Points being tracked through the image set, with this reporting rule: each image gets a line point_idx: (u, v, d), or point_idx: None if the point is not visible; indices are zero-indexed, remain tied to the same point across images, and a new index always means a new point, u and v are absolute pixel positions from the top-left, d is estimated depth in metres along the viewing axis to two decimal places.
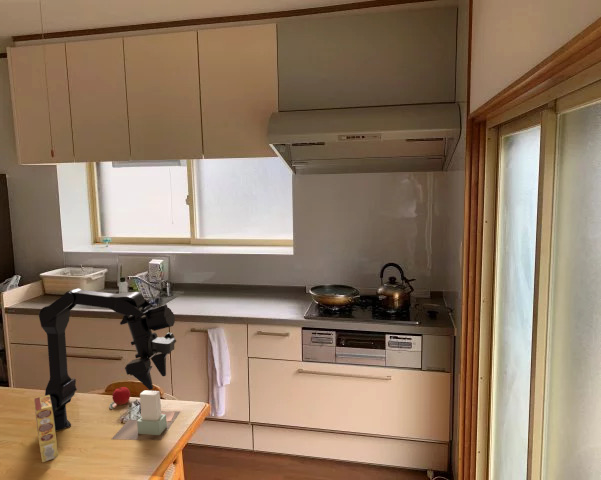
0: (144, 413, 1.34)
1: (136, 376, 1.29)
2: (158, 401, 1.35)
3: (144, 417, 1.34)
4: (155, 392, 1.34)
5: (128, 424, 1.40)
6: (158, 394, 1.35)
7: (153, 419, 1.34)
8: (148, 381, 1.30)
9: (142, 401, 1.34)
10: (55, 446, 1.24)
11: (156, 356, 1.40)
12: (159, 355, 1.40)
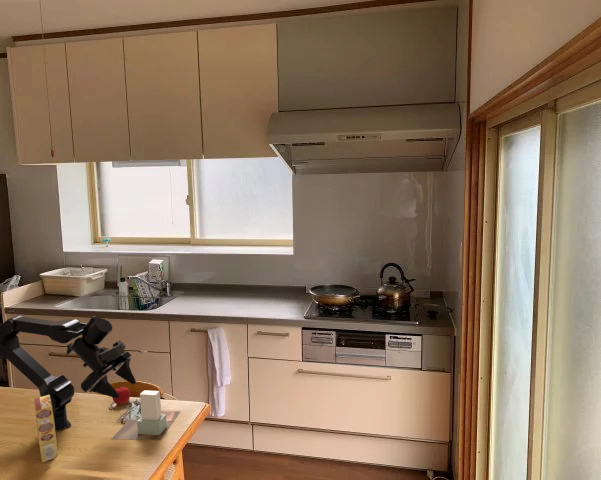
0: (144, 413, 1.34)
1: (97, 391, 1.30)
2: (158, 401, 1.35)
3: (144, 417, 1.34)
4: (155, 392, 1.34)
5: (128, 424, 1.40)
6: (158, 394, 1.35)
7: (153, 419, 1.34)
8: (110, 390, 1.30)
9: (142, 401, 1.34)
10: (55, 446, 1.24)
11: (119, 369, 1.41)
12: (121, 367, 1.41)
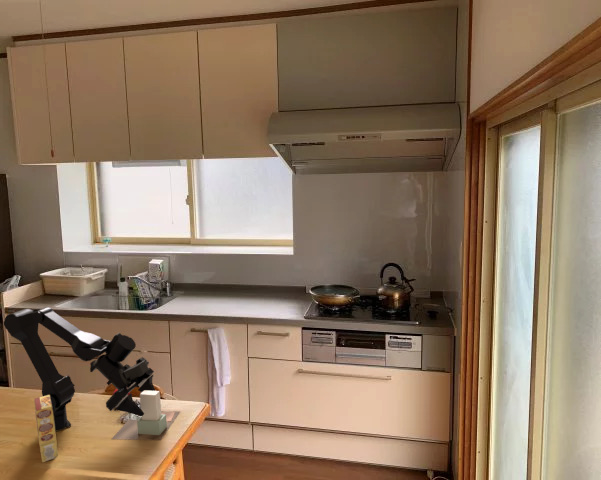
0: (144, 413, 1.34)
1: (122, 409, 1.29)
2: (158, 401, 1.35)
3: (144, 417, 1.34)
4: (155, 392, 1.34)
5: (128, 424, 1.40)
6: (158, 394, 1.35)
7: (153, 419, 1.34)
8: (135, 408, 1.30)
9: (142, 401, 1.34)
10: (55, 446, 1.24)
11: (142, 386, 1.40)
12: (144, 383, 1.40)
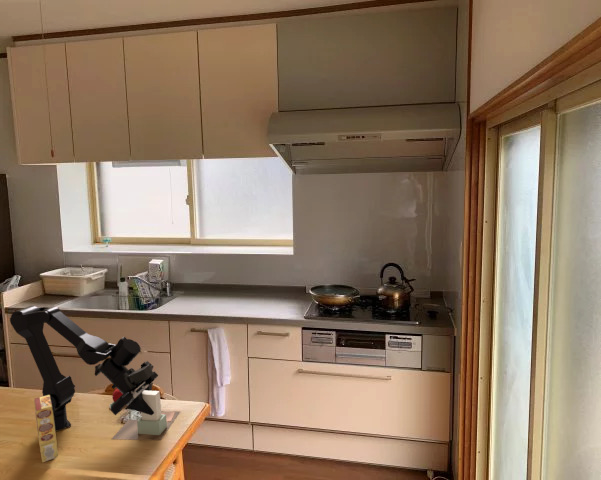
0: (144, 413, 1.34)
1: (133, 408, 1.32)
2: (158, 401, 1.35)
3: (144, 417, 1.34)
4: (155, 392, 1.34)
5: (128, 424, 1.40)
6: (158, 394, 1.35)
7: (153, 419, 1.34)
8: (145, 407, 1.33)
9: None
10: (55, 446, 1.24)
11: None
12: None
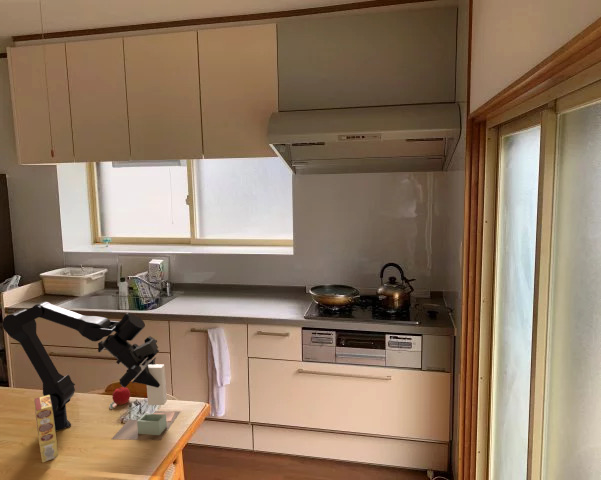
0: (150, 386, 1.38)
1: (139, 381, 1.36)
2: (163, 374, 1.39)
3: (150, 390, 1.38)
4: (160, 365, 1.38)
5: (128, 424, 1.40)
6: (163, 367, 1.39)
7: (159, 391, 1.38)
8: (152, 380, 1.36)
9: None
10: (55, 446, 1.24)
11: None
12: (147, 366, 1.40)
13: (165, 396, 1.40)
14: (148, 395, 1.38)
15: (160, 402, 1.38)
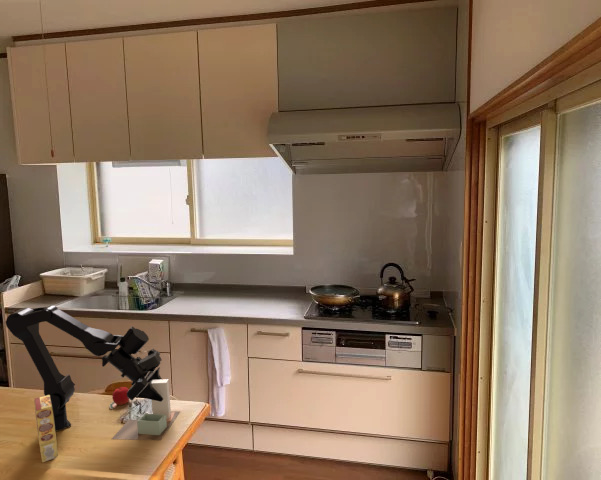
0: (155, 401, 1.41)
1: (143, 396, 1.37)
2: (168, 388, 1.43)
3: (155, 404, 1.41)
4: (165, 380, 1.42)
5: (128, 424, 1.40)
6: (168, 382, 1.43)
7: (164, 406, 1.42)
8: (155, 394, 1.38)
9: None
10: (55, 446, 1.24)
11: (150, 379, 1.45)
12: (152, 376, 1.45)
13: (169, 410, 1.44)
14: (153, 410, 1.42)
15: None
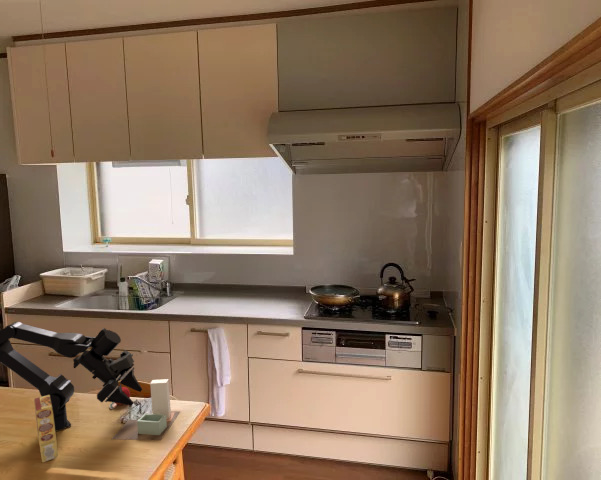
0: (155, 401, 1.41)
1: (112, 400, 1.35)
2: (168, 388, 1.43)
3: (155, 404, 1.41)
4: (165, 380, 1.42)
5: (128, 424, 1.40)
6: (168, 382, 1.43)
7: (164, 406, 1.42)
8: (125, 398, 1.36)
9: (153, 390, 1.41)
10: (55, 446, 1.24)
11: (124, 378, 1.46)
12: (126, 376, 1.46)
13: (169, 410, 1.44)
14: (153, 410, 1.42)
15: None
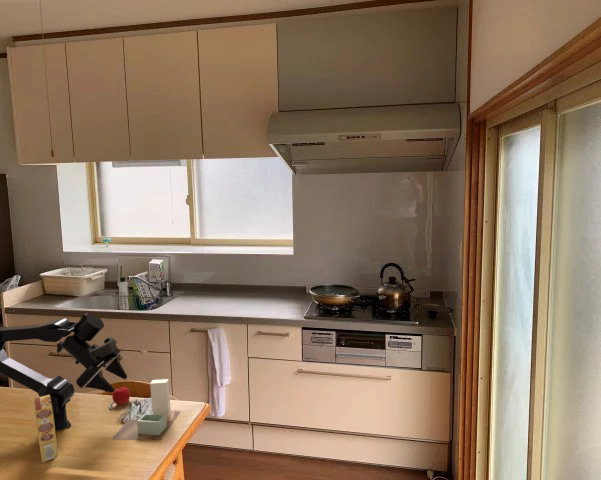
0: (155, 401, 1.41)
1: (92, 386, 1.33)
2: (168, 388, 1.43)
3: (155, 404, 1.41)
4: (165, 380, 1.42)
5: (128, 424, 1.40)
6: (168, 382, 1.43)
7: (164, 406, 1.42)
8: (106, 385, 1.34)
9: (153, 390, 1.41)
10: (55, 446, 1.24)
11: (110, 365, 1.44)
12: (112, 363, 1.44)
13: (169, 410, 1.44)
14: (153, 410, 1.42)
15: None
